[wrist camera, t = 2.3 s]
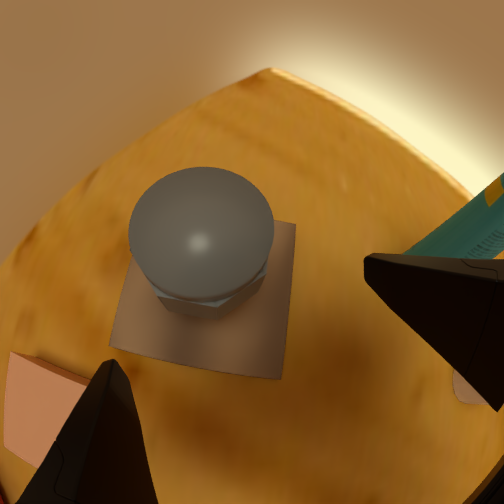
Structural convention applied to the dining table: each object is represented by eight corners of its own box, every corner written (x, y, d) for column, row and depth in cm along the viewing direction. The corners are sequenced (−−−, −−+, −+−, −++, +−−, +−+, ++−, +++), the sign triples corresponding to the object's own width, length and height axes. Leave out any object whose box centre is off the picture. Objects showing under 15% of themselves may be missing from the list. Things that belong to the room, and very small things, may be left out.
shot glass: (442, 407, 18) (498, 405, 12) (453, 337, 21) (506, 319, 15) (481, 410, 18) (530, 405, 11) (489, 348, 21) (537, 333, 14)
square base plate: (292, 230, 23) (322, 167, 16) (278, 379, 18) (314, 381, 11) (153, 207, 23) (133, 139, 16) (113, 347, 18) (58, 327, 11)
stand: (118, 389, 17) (100, 391, 13) (109, 481, 13) (92, 496, 10) (36, 356, 16) (10, 351, 13) (28, 441, 13) (4, 446, 10)
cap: (267, 220, 18) (280, 178, 14) (253, 326, 15) (265, 308, 11) (165, 204, 17) (154, 159, 14) (135, 303, 15) (109, 278, 11)
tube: (422, 252, 24) (558, 123, 7) (439, 297, 22) (597, 190, 5) (365, 267, 23) (529, 95, 5) (383, 320, 21) (591, 190, 4)
